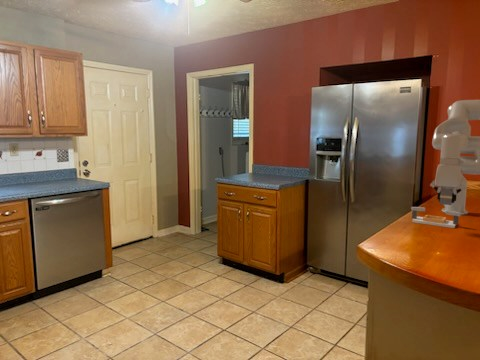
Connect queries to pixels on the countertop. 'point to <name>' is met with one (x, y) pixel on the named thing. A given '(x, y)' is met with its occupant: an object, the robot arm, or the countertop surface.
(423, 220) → the stand
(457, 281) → the countertop surface
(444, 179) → the robot arm
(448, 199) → the block
